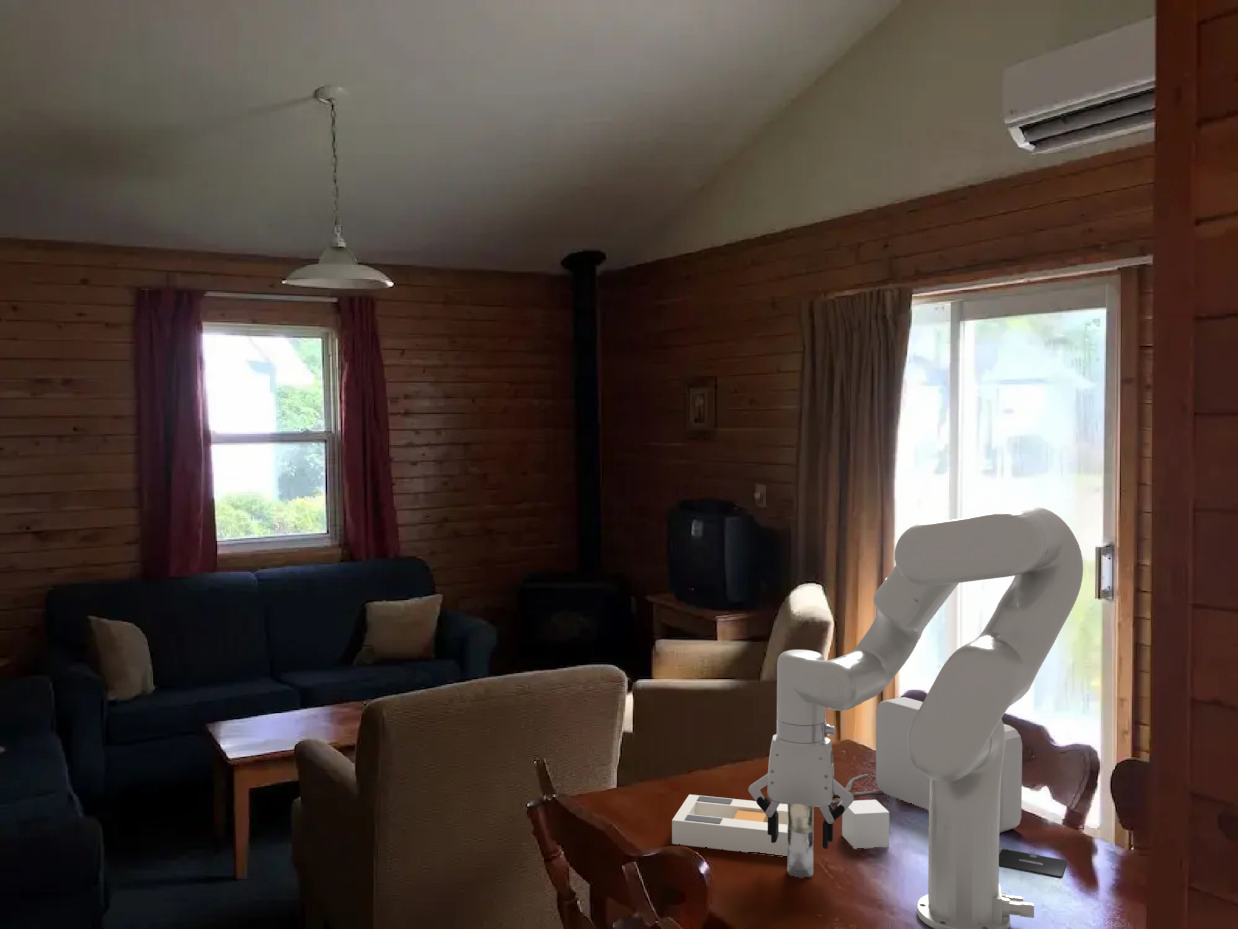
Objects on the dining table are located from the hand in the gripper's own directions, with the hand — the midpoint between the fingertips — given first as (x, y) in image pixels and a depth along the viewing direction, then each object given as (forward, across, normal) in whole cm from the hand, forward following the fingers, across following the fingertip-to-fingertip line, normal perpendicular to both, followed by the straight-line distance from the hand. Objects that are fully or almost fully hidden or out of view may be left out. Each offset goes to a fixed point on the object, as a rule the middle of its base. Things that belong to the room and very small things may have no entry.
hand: (800, 842), depth 164 cm
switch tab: (+4, +10, -12) cm, 16 cm away
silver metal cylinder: (+5, 0, 0) cm, 5 cm away
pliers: (+6, -7, -40) cm, 41 cm away
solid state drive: (+5, -35, -14) cm, 38 cm away
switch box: (+5, +11, -12) cm, 17 cm away
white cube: (+5, -9, -16) cm, 19 cm away
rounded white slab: (+5, -22, -35) cm, 42 cm away
